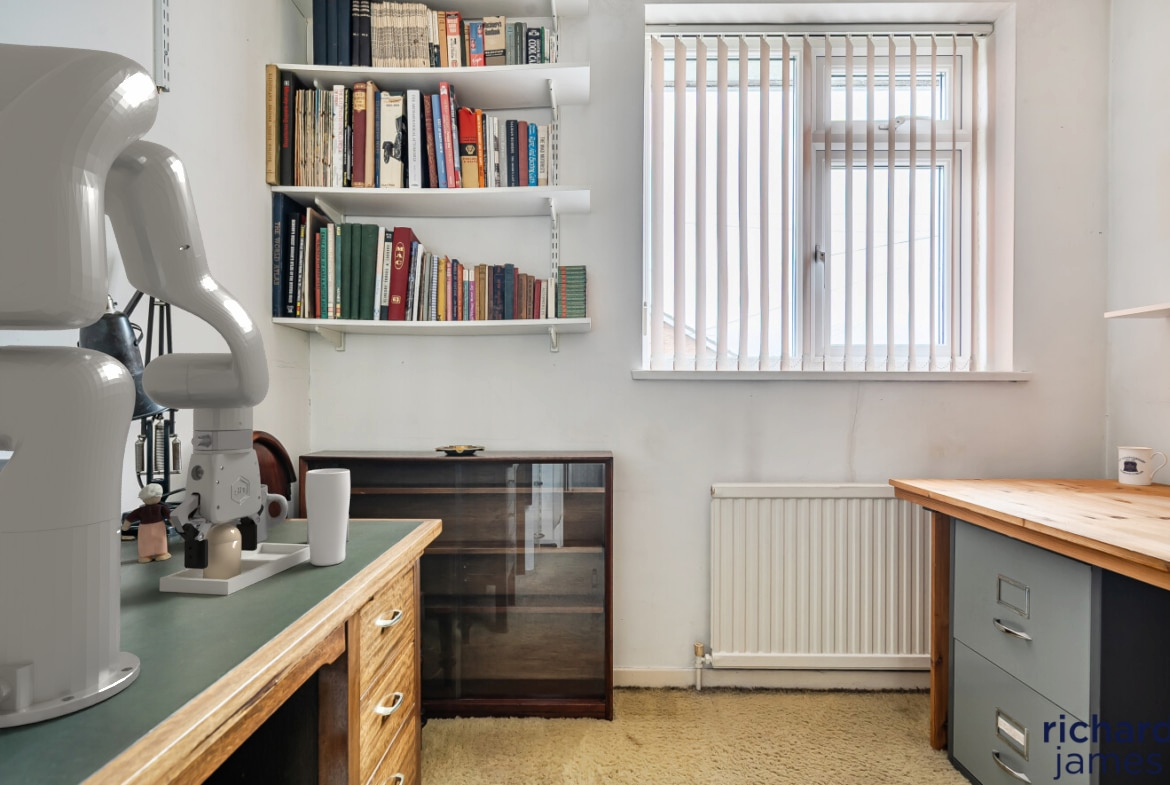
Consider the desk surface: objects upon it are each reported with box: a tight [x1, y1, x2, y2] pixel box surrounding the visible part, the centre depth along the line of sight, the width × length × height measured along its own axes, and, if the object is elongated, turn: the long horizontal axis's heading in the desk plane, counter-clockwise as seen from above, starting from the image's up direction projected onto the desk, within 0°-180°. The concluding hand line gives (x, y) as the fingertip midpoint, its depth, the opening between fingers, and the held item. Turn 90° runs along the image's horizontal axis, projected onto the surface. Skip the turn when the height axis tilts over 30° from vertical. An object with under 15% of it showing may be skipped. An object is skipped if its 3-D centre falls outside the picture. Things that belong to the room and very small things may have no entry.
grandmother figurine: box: [121, 483, 175, 564], centre depth 98 cm, size 8×4×13 cm, turn 130°
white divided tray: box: [159, 542, 310, 596], centre depth 91 cm, size 20×11×2 cm, turn 172°
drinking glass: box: [304, 468, 351, 567], centre depth 96 cm, size 7×7×15 cm
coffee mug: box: [209, 483, 289, 544], centre depth 112 cm, size 13×10×10 cm
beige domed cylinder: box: [203, 524, 241, 580], centre depth 86 cm, size 5×5×8 cm
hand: (222, 558), depth 86 cm, fingers open, 9 cm apart
